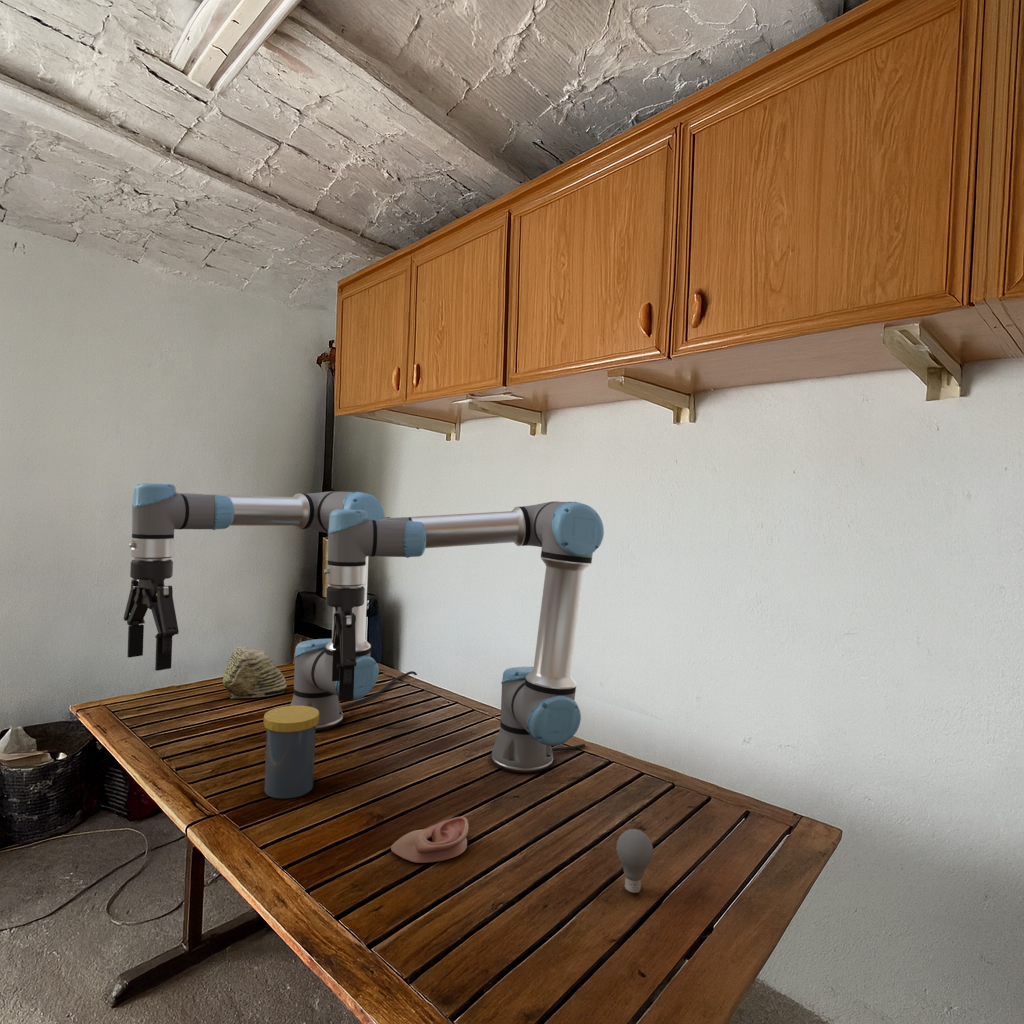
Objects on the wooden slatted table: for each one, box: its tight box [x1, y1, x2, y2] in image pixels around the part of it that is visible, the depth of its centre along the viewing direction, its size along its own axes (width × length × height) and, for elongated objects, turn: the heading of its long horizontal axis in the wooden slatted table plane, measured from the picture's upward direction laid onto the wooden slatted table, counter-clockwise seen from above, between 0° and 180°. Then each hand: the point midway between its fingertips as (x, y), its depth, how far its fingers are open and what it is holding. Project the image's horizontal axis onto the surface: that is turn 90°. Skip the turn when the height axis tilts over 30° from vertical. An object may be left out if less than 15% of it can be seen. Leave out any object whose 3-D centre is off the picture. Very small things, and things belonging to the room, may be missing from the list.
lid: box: [262, 705, 319, 732], centre depth 137 cm, size 11×11×2 cm
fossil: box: [222, 646, 288, 699], centre depth 198 cm, size 9×18×15 cm, turn 132°
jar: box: [263, 725, 317, 799], centre depth 137 cm, size 10×10×16 cm
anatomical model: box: [390, 816, 469, 864], centre depth 116 cm, size 13×4×12 cm
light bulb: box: [615, 828, 654, 894], centre depth 106 cm, size 6×6×10 cm
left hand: (148, 662), depth 129 cm, fingers open, 13 cm apart
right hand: (342, 690), depth 128 cm, fingers open, 13 cm apart
